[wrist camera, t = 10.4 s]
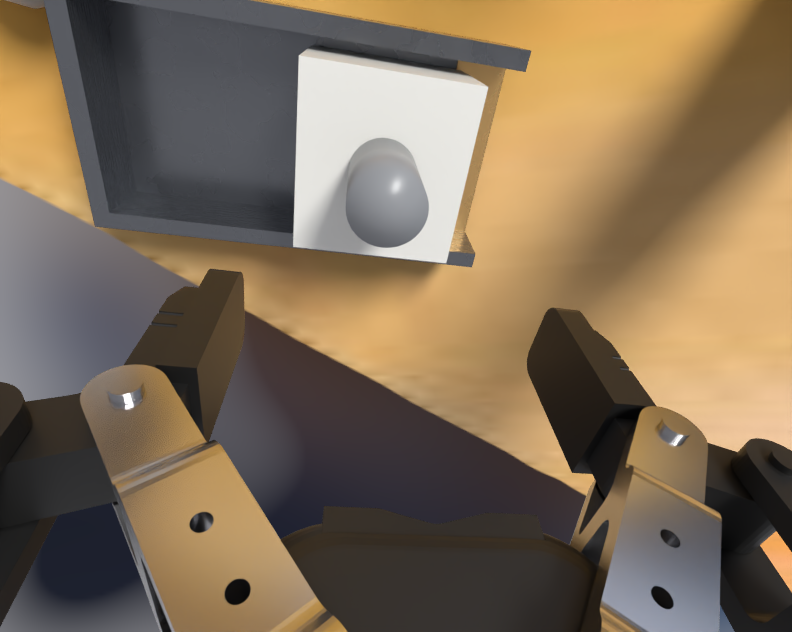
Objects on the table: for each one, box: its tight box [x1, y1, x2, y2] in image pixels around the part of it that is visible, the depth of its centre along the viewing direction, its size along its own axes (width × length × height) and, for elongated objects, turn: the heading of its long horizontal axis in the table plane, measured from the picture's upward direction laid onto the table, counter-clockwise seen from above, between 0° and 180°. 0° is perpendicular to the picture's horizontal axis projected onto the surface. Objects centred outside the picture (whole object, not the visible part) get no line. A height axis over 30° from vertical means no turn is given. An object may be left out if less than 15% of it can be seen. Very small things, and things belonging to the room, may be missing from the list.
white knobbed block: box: [293, 45, 488, 263], centre depth 25 cm, size 10×9×12 cm
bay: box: [44, 0, 531, 267], centre depth 28 cm, size 13×24×5 cm, turn 81°
